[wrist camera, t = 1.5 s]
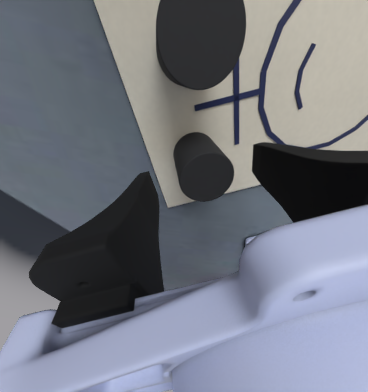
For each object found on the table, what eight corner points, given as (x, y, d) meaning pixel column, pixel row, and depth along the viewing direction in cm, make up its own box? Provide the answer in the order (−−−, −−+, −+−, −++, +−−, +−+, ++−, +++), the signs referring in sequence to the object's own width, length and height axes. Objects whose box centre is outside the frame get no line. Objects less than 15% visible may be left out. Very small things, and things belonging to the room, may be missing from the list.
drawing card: (372, 154, 17) (376, 156, 17) (167, 206, 17) (168, 208, 17) (523, -130, 8) (538, -139, 8) (89, -13, 8) (87, -16, 8)
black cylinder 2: (216, 167, 15) (235, 194, 11) (178, 176, 15) (185, 207, 11) (212, 126, 13) (234, 145, 9) (168, 138, 13) (172, 160, 9)
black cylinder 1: (217, 78, 11) (245, 79, 7) (165, 92, 11) (169, 99, 8) (211, -2, 9) (248, -54, 5) (147, 15, 9) (141, -25, 5)
